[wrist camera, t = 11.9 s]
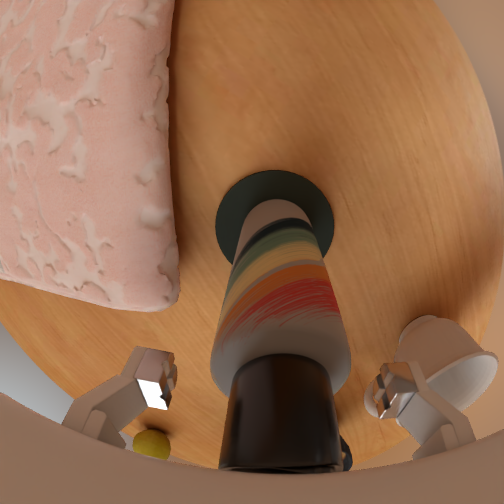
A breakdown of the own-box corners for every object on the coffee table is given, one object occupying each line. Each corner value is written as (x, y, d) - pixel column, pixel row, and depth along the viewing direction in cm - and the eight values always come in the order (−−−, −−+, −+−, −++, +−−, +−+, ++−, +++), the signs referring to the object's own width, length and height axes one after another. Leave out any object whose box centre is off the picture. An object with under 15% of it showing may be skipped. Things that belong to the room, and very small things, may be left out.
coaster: (216, 167, 22) (215, 168, 22) (340, 175, 22) (341, 176, 22) (217, 275, 27) (216, 278, 26) (324, 282, 26) (324, 284, 26)
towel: (-29, 38, 13) (-56, 38, 8) (192, -68, 12) (175, -98, 7) (-11, 265, 29) (-34, 283, 24) (191, 287, 27) (174, 325, 22)
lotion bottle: (309, 260, 25) (353, 503, 7) (245, 261, 25) (203, 505, 7) (311, 196, 22) (408, 447, 4) (240, 198, 23) (155, 453, 5)
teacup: (352, 305, 27) (378, 382, 18) (469, 283, 25) (515, 338, 16) (347, 379, 32) (360, 445, 23) (447, 355, 30) (474, 410, 22)
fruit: (134, 428, 43) (116, 478, 32) (145, 418, 41) (126, 474, 30) (166, 442, 45) (152, 493, 34) (180, 434, 42) (166, 490, 31)
